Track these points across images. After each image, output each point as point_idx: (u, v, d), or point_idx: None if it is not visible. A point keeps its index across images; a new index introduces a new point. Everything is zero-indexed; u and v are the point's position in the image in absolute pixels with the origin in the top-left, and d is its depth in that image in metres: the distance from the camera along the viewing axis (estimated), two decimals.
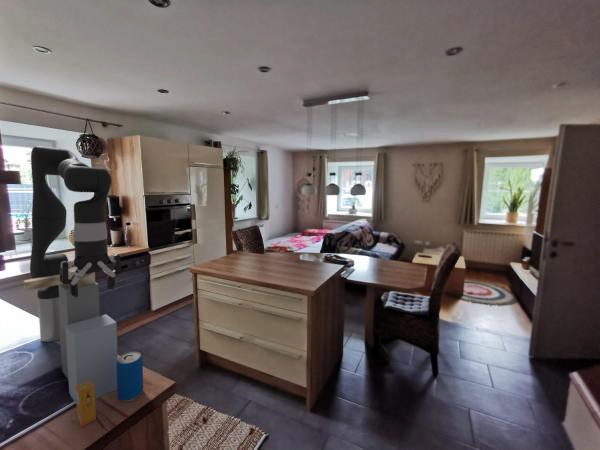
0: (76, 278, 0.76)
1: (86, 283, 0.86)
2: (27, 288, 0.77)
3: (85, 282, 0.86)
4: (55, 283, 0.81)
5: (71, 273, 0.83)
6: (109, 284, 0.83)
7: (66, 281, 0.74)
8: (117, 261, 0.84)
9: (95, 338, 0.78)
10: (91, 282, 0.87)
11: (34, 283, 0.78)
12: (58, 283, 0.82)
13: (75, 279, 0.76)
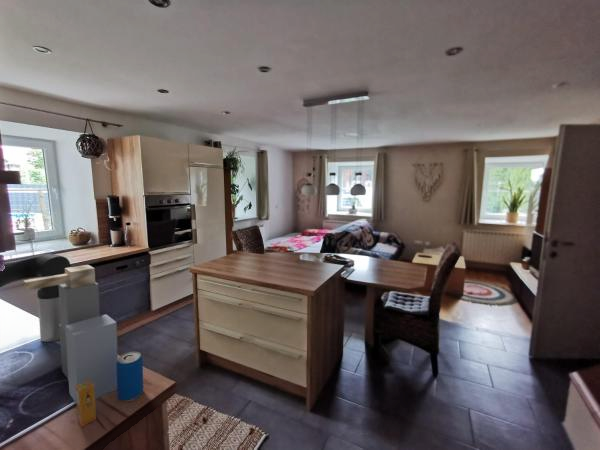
0: None
1: (86, 283, 0.86)
2: (27, 288, 0.77)
3: (85, 282, 0.86)
4: (55, 283, 0.81)
5: (71, 273, 0.83)
6: None
7: None
8: None
9: (95, 338, 0.78)
10: (91, 282, 0.87)
11: (34, 283, 0.78)
12: (58, 283, 0.82)
13: None
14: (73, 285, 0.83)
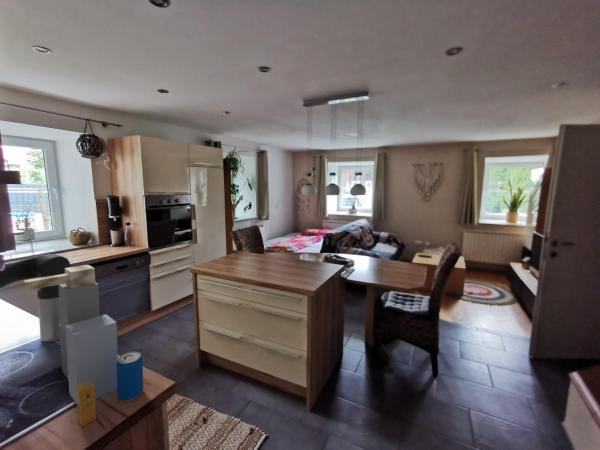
0: None
1: (86, 283, 0.86)
2: (27, 288, 0.77)
3: (85, 282, 0.86)
4: (55, 283, 0.81)
5: (71, 273, 0.83)
6: None
7: None
8: None
9: (95, 338, 0.78)
10: (91, 282, 0.87)
11: (34, 283, 0.78)
12: (58, 283, 0.82)
13: None
14: (73, 285, 0.83)
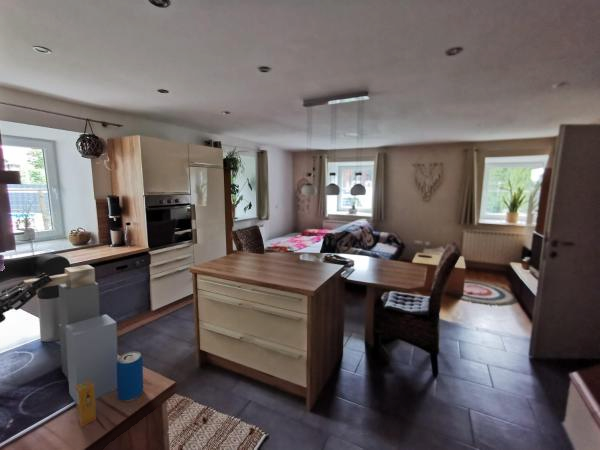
0: (24, 288, 0.75)
1: (86, 283, 0.86)
2: None
3: (85, 282, 0.86)
4: (55, 283, 0.81)
5: (71, 273, 0.83)
6: (40, 277, 0.80)
7: (27, 288, 0.75)
8: (8, 288, 0.78)
9: (95, 338, 0.78)
10: (91, 282, 0.87)
11: None
12: (58, 283, 0.82)
13: (25, 287, 0.76)
14: (73, 285, 0.83)
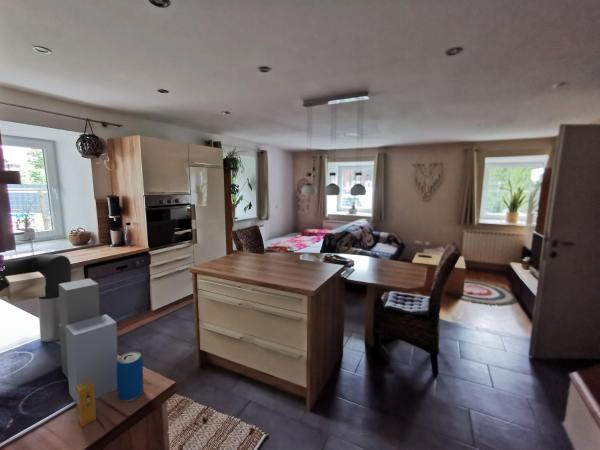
0: None
1: (32, 296, 0.67)
2: None
3: (30, 294, 0.67)
4: None
5: (11, 283, 0.64)
6: None
7: None
8: None
9: (95, 338, 0.78)
10: (40, 294, 0.68)
11: None
12: None
13: None
14: (14, 299, 0.65)
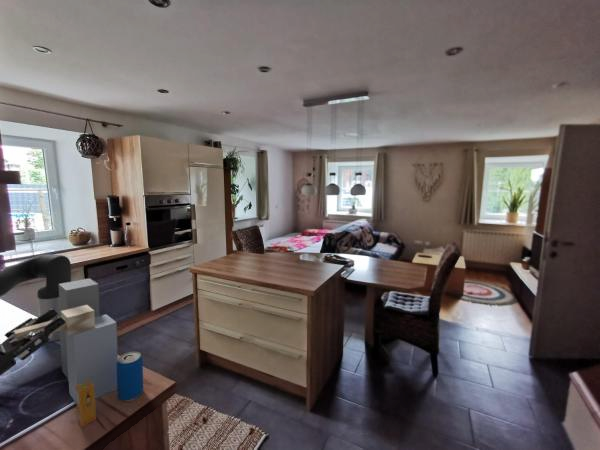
0: (35, 333, 0.68)
1: (85, 328, 0.77)
2: None
3: (83, 326, 0.76)
4: None
5: (68, 319, 0.73)
6: (48, 314, 0.75)
7: (39, 334, 0.67)
8: (13, 330, 0.72)
9: (95, 338, 0.78)
10: (90, 326, 0.78)
11: (26, 333, 0.68)
12: None
13: (37, 332, 0.68)
14: (70, 332, 0.74)
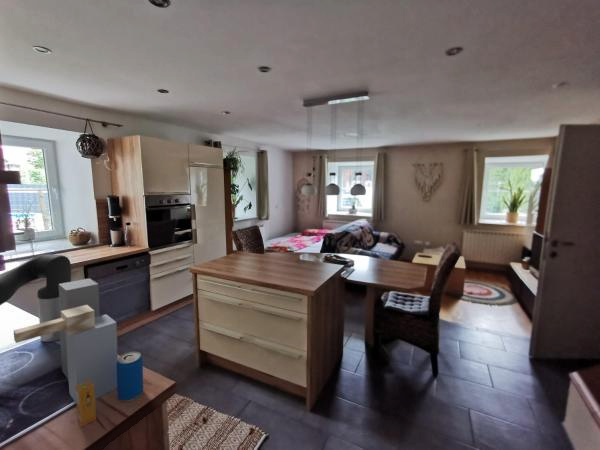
0: None
1: (85, 328, 0.77)
2: (17, 340, 0.67)
3: (83, 326, 0.76)
4: (50, 331, 0.72)
5: (68, 319, 0.73)
6: None
7: None
8: None
9: (95, 338, 0.78)
10: (90, 326, 0.78)
11: (26, 333, 0.68)
12: (53, 330, 0.73)
13: None
14: (70, 332, 0.74)
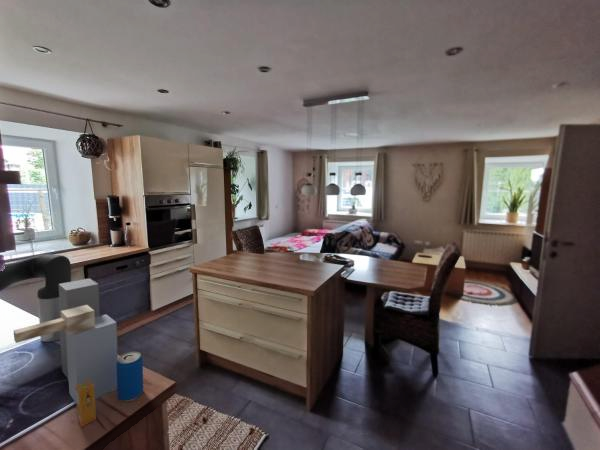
0: None
1: (85, 328, 0.77)
2: (17, 340, 0.67)
3: (83, 326, 0.76)
4: (50, 331, 0.72)
5: (68, 319, 0.73)
6: None
7: None
8: None
9: (95, 338, 0.78)
10: (90, 326, 0.78)
11: (26, 333, 0.68)
12: (53, 330, 0.73)
13: None
14: (70, 332, 0.74)
